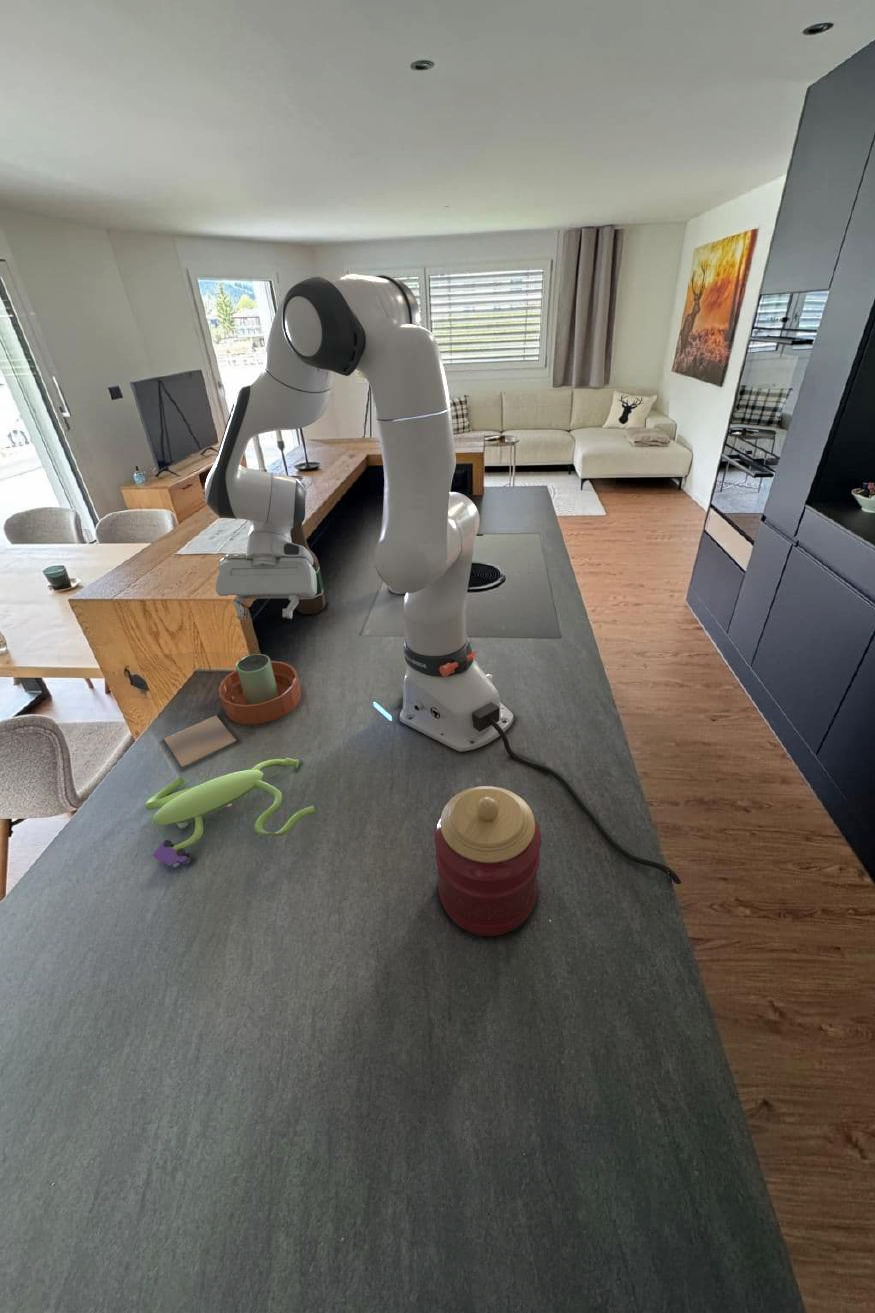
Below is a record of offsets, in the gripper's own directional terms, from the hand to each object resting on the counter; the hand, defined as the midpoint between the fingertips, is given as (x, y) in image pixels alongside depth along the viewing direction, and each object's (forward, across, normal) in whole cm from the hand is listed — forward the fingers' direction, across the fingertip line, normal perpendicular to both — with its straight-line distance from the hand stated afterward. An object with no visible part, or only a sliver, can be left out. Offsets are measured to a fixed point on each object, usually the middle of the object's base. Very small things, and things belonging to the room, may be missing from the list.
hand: (264, 618), depth 112 cm
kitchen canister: (+46, +44, -26) cm, 69 cm away
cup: (+16, 0, +2) cm, 16 cm away
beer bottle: (-11, 0, +31) cm, 33 cm away
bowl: (+17, 0, +3) cm, 17 cm away
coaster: (+25, -8, -5) cm, 27 cm away
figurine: (+37, +5, -17) cm, 41 cm away
